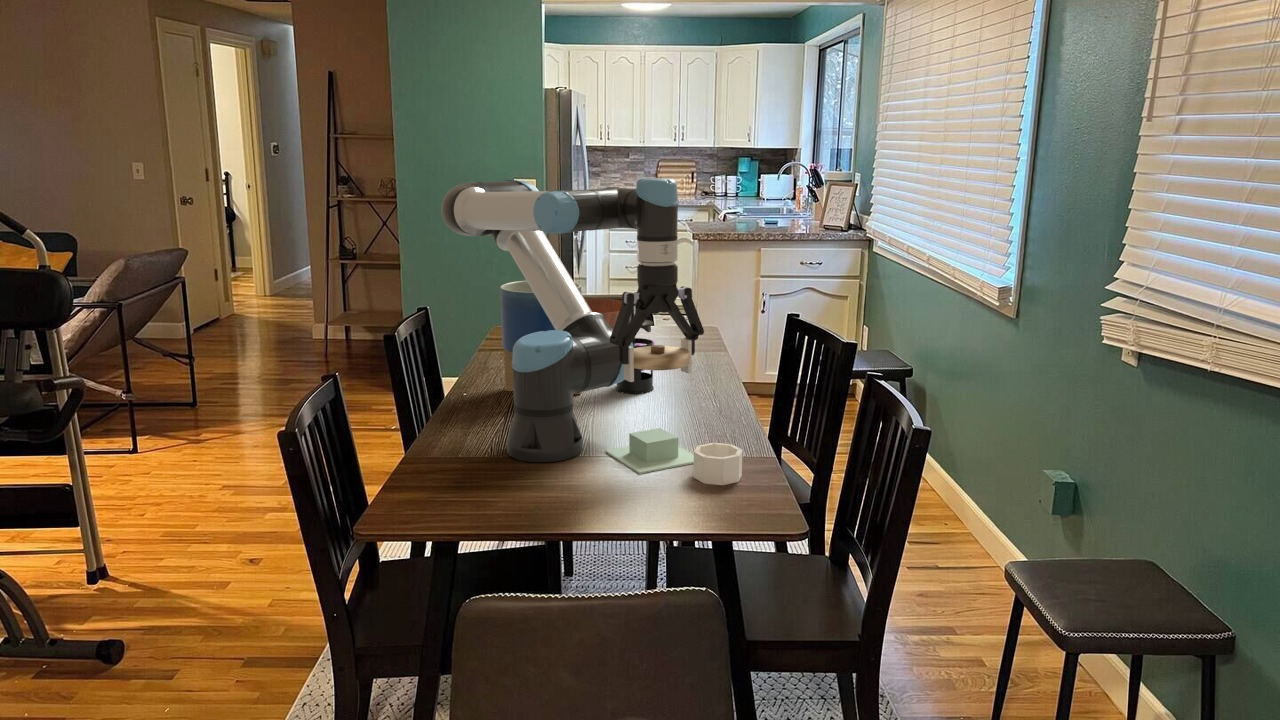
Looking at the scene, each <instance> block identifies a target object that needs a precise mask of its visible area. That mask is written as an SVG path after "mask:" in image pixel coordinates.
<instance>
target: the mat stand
mask: <svg viewBox="0 0 1280 720" xmlns="http://www.w3.org/2000/svg"><path fill="white" fill-rule="evenodd" d="M628 434H629V435H628V437H629V440H628V442H629V443H628V446H622V447H617V448H611V449H606V450H605V451H604V452H605V453H606V454H607V455H609V456H611V457H612V458H614V459H615V460H617V461H618V462H620V463H621V464H623V465H625V466H626V467H628V468H629V469H631V470H632V471H634V472H635V473H638V474H639V475H642V474H647V472H648V473H652V471H653V472H658V471H661V470H667V469H671V468H678V467H683V466H687V465H692V464H693V465H694V453H692V452H690V451H689V450H687V449H684V448H683V447H681V446H679V436H676V435H674V434H672V433H671V432H668V431H667V430H665V429H663V428H661V427H658V428H653V429H647V430H641V431H634V432H629V433H628Z"/></svg>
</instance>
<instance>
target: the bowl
mask: <svg viewBox="0 0 1280 720" xmlns="http://www.w3.org/2000/svg"><path fill="white" fill-rule="evenodd" d="M584 299H585V301H586V303H587V304H588V306H589V307H590V309H591V311H592V312H595V313H600V314H602V315H603V316H604V318H605V320H606V321H607V323H608V324H609V326H610V327H611V328H612V327H614V325H615V323H616V320H617V317H618V314H619V311H620V308H621V305H622V300H618V299H610V298H584ZM630 319H632V315H631V316H630Z"/></svg>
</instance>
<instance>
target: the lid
mask: <svg viewBox="0 0 1280 720" xmlns="http://www.w3.org/2000/svg"><path fill="white" fill-rule="evenodd" d="M689 357H690V352H689V351H688V350H686V349H683V348H681V347H677V346H669V345H662V344H654V345H653V346H645V347H638V348H634V368H636V369H642V370H641V371H651V370H653V371H671V370H677V369H681V368H683V367H685V366H687V365H689Z"/></svg>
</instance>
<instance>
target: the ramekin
mask: <svg viewBox="0 0 1280 720" xmlns="http://www.w3.org/2000/svg"><path fill="white" fill-rule="evenodd" d="M693 454H694V463H693V473H692V474H693V475H692V477H693V478H694V479H695V480H696V481H699V482H701V483H703V484H707V485H715V486H716V485H717V486H726V485H731V484H735V483H739V482H740V480H741V478H742V475H743V449H742V448H740V447H738V446H736V445H734V444H731V443H722V442H720V443H719V442H709V443H706V444H699V445H697V446H696V448H695V449H694V451H693Z"/></svg>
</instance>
